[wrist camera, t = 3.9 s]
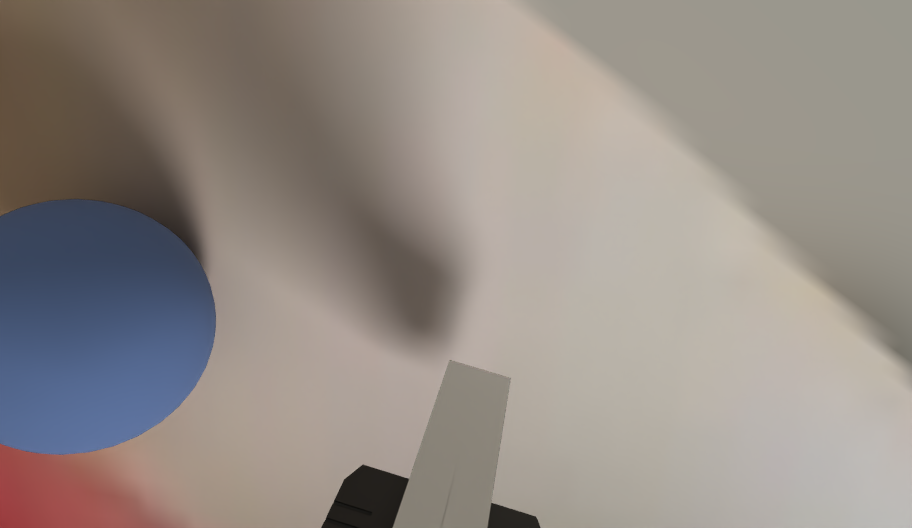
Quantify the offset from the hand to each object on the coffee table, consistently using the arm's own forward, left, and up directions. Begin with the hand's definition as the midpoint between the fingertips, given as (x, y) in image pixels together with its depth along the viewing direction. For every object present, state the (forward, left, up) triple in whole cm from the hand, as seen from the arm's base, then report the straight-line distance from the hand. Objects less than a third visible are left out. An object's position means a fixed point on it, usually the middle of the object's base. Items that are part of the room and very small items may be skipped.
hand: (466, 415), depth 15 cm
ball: (+9, 0, +1) cm, 10 cm away
